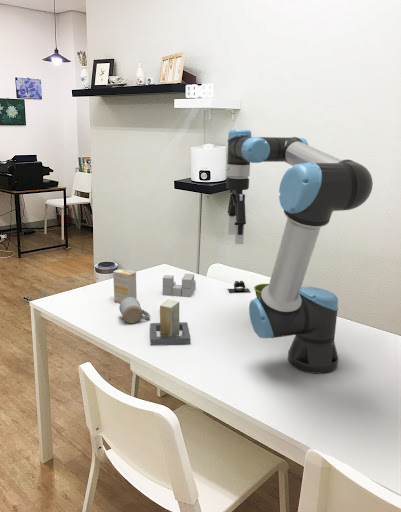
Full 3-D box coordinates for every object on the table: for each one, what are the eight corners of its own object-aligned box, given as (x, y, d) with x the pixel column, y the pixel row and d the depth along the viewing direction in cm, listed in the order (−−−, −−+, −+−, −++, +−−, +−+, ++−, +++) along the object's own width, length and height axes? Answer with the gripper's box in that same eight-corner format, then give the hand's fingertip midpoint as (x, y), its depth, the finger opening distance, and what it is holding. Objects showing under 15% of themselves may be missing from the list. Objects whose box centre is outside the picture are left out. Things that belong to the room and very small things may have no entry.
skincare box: (168, 331, 170) (168, 298, 166) (179, 334, 168) (180, 301, 165) (159, 339, 164) (159, 304, 161) (170, 341, 162) (170, 307, 159)
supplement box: (137, 302, 196) (136, 271, 192) (129, 306, 192) (128, 274, 188) (121, 298, 200) (120, 267, 197) (113, 301, 196) (112, 270, 193)
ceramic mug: (123, 325, 174) (123, 305, 172) (119, 317, 182) (118, 297, 179) (152, 322, 177) (152, 302, 175) (147, 314, 185) (147, 295, 183)
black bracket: (251, 288, 217) (251, 279, 215) (255, 294, 210) (255, 284, 208) (223, 289, 215) (223, 279, 214) (226, 295, 208) (227, 285, 207)
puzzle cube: (195, 288, 214) (195, 271, 212) (190, 297, 203) (191, 279, 201) (168, 286, 216) (168, 269, 214) (162, 295, 205) (162, 277, 203)
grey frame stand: (190, 344, 161) (190, 338, 160) (150, 345, 159) (150, 339, 159) (183, 308, 190) (183, 303, 190) (149, 309, 189) (149, 304, 188)
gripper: (221, 173, 175) (219, 231, 180) (233, 181, 151) (230, 248, 157) (241, 173, 176) (239, 230, 181) (257, 182, 152) (253, 248, 157)
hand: (235, 239), depth 169 cm, fingers open, 13 cm apart
